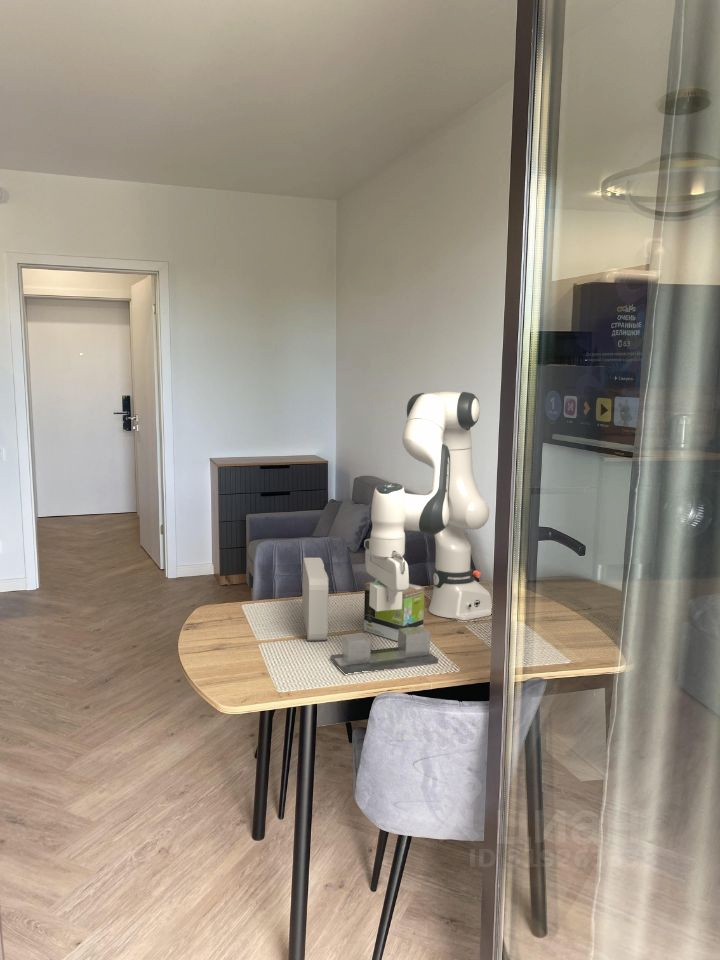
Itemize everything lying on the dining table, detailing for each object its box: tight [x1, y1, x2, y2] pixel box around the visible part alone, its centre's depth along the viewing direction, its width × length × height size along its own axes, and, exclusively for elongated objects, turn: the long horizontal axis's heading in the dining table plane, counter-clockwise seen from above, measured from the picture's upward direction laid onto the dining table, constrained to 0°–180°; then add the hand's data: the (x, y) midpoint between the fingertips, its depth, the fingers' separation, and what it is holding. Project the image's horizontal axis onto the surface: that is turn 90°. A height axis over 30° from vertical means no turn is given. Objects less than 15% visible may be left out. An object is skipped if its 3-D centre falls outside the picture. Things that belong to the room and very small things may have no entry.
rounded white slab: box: [301, 557, 330, 642], centre depth 218 cm, size 29×8×18 cm, turn 8°
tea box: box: [363, 580, 425, 642], centre depth 213 cm, size 15×10×15 cm
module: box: [369, 582, 402, 611], centre depth 190 cm, size 7×5×6 cm
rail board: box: [329, 625, 439, 674], centre depth 192 cm, size 26×11×8 cm, turn 111°
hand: (385, 599), depth 191 cm, fingers closed on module, 5 cm apart
